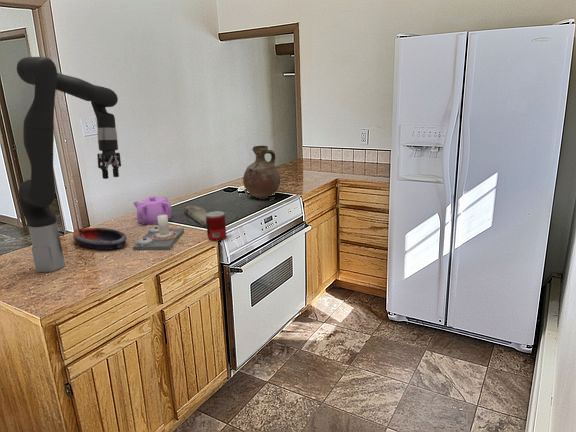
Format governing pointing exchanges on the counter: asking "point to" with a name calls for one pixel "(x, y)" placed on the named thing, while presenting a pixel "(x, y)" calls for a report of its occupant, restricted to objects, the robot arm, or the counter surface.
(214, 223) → the canned food
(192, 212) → the elongated rock
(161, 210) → the teakettle
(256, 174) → the jug
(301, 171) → the counter surface
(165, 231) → the cream gear
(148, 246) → the gear board
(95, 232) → the dish
